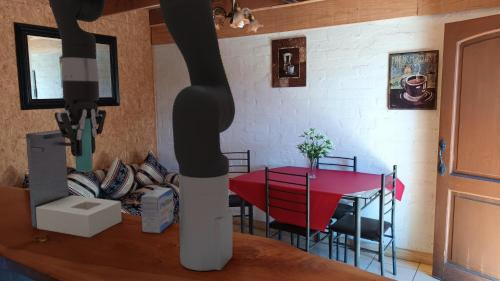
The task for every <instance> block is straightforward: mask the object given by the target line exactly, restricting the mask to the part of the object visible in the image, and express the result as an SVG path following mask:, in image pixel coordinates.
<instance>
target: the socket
mask: <svg viewBox="0 0 500 281" xmlns="http://www.w3.org/2000/svg"><path fill="white" fill-rule="evenodd" d="M36 218H37V227H36V229H37V230H38V229H39V230H44V231H49V232H54V233H55V232H56V233H61V234H66V235H67V234H68V235H72V236H78V237H85V238H91V237H93V236H95V235H97V234H99V233H101V232H103V231H106V230H107V229H109V228H110V227H113V226H114V225H117V224H119V223H121V222H122V201H119V200H111V199H103V198H95V197H89V196H80V195H74V194H73V195H68V197H66V198H63V199H60V200H57V201H54V202H51V203H48V204H45V205H42V206H39V207H36Z"/></svg>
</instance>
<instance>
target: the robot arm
mask: <svg viewBox="0 0 500 281" xmlns="http://www.w3.org/2000/svg"><path fill="white" fill-rule="evenodd" d="M106 2H107V0H50V1H49V4H50V8H51V11H52V15H53V18H54V20H55V24H56V26H57V30H58V33H59V36H60V40H61V55H62V57H61V61H62V62H61V84H62V85H61V86H62V98H63V100H64V101H65V106H64V110H62V111H60V112H59V111H58V112H57V111H56V112H54V118H55V121H56V124H57V127H58V130H60V132H61V134H62V137H64V138H65V139H69V141H70V143H71V146H70V153H71V155H72V156H73V157H75V156H77V157H79V156H82V141H81V140H80V139H81V134H82V130H83V129H84V124H85V119H89V118H90V122H91V147H92V155H93V154H95V152H96V138H97V136H98V135H101V134H102V133H103V129H104V126H105V125H104V124H105V120H106V116H107V111H106V110H104V109H100V108H99V107H98V104H97V101H99V100H100V85H99V81H100V80H99V67H98V60H97V58H98V57H97V41H96V40H97V39H96V37H95V35H94V34H92V33H90V32H88V31H86V30H84V29H83V28H82V27H81V26H80V25H79V23H78V21H80V22H85V23H93V22H95V21H97V20H99V19H100V18H101V17H102V16H103V13H104V10H105V6H106ZM158 3H159V9H160V13H161V17H162V19H163V22H164V24H165V26H166V28H167V29H166V30H168V32H169V34H170V36H171V38H172V39H173V42H174V44H175V45H176V46H177V49H178V50H179V51H180V53H181V56H182V58H183V60H184V62H185V65H186V68H187V72H188V75H189V76H188V77H189V82H190V85H189V86H185V87H184V88H183V89H181V90H179V92H178V93H177V95H176V96H175V98H174V100H173V105H172V113H171V115H172V116H171V119H172V120H171V122H172V138H173V139H172V140H173V152H174V157H175V160H176V162H177V164H178V186H179V187H178V193H179V194H178V196H179V198H178V199H179V201H178V203H179V204H178V205H179V216H178V217H179V260H180V261H179V262H180V265H181V266H183V267H184V268H186V269H187V270H188V269H189V270H191V271H192V270H194V271H199V272H202V271H213V270H215V271H221V270H222V269H223V268H224V267H225V265H226V264H228V262H230V260H231V259H232V258H233V221H234V220H233V214H234V213H233V210H232V209H229V208H230V207H229V206H230V204H229V200H230V199H229V198H230V196H229V193H230V191H229V188H230V187H229V186H230V185H229V184H230V161H229V158H228V156H226V154H223V152H222V149H221V137H220V136H221V135H220V134H221V133H223V132H225V131H227V130H228V129H229V128H230V127H231V126H232V125H233V122H234V119H235V115H236V106H235V105H236V103H235V100H234V96H233V93H232V89H231V86H230V83H229V81H228V77H227V73H226V70H225V66H224V63H223V60H222V55H221V50H220V45H219V39H218V34H217V33H218V32H217V29H216V24H215V18H214V13H213V7H212V1H211V0H158ZM74 124H78V126H74ZM75 129H76V134H75Z"/></svg>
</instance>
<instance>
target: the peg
mask: <svg viewBox="0 0 500 281" xmlns="http://www.w3.org/2000/svg"><path fill="white" fill-rule="evenodd" d="M74 126H78V124H74ZM75 134H76V129H75ZM80 140H81V141H82V156H79V157H77V156H74V157H75V171H76V172H81V173H82V172H85V173H86V172H89V171H90V172H91V171H93V154H92V147H91V122H90V118H89V119H85V124H84V129H83V130H82V134H81V139H80Z"/></svg>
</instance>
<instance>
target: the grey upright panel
mask: <svg viewBox="0 0 500 281" xmlns="http://www.w3.org/2000/svg"><path fill="white" fill-rule="evenodd" d="M25 139H26V140H25V141H26V152H27V154H26V155H27V168H28V171H27V172H28V184H29V197H30V213H31V215H30V216H31V225H32V226H31V227H32V228H37V218H36V207H39V206H42V205H45V204H48V203H51V202H54V201H57V200H60V199H63V198H66V197H69V183H68V182H69V181H68V165H67V147H71V143H70V142H67V141H66V138H64V137H62V134H61V132H60V129H54V130H46V131H39V132H38V131H37V132H29V133H26V134H25Z"/></svg>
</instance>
